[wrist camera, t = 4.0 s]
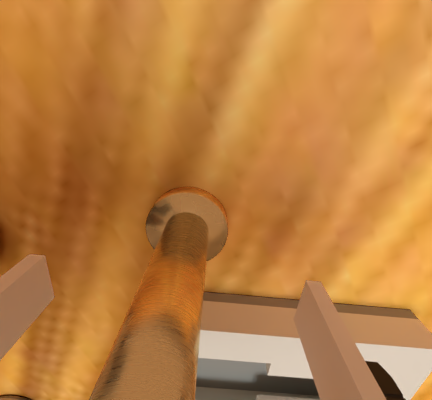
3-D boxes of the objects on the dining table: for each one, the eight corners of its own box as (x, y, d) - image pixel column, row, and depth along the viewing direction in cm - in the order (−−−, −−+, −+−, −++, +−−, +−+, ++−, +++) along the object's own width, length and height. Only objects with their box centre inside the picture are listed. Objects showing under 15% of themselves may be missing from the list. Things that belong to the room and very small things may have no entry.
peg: (150, 182, 17) (-228, 624, 3) (231, 190, 17) (294, 648, 3) (151, 250, 19) (-45, 677, 5) (222, 256, 19) (231, 688, 5)
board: (173, 289, 21) (164, 327, 17) (410, 309, 21) (447, 350, 18) (170, 382, 26) (162, 425, 23) (358, 396, 27) (379, 440, 23)
